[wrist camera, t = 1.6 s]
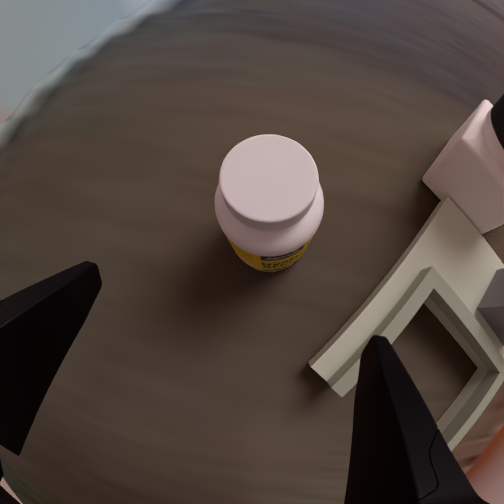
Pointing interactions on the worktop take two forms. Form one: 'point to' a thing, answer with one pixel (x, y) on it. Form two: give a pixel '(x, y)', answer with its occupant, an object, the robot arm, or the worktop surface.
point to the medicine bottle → (474, 168)
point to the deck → (434, 312)
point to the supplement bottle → (269, 201)
